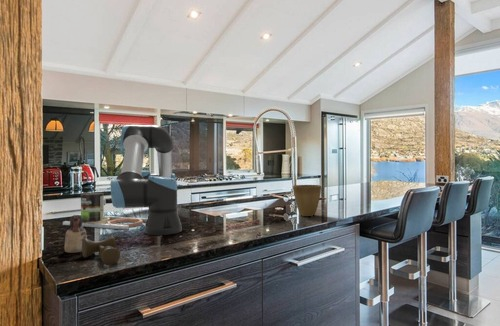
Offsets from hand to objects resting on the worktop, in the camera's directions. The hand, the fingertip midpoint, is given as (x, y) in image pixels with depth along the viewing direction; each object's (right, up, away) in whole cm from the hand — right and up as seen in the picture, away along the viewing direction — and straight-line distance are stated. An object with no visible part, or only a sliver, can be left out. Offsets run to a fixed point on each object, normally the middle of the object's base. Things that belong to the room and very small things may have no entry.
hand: (106, 203), depth 176 cm
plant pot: (+104, -7, +6) cm, 104 cm away
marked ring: (+15, -8, -15) cm, 23 cm away
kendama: (+27, -9, -68) cm, 74 cm away
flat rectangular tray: (+6, -8, -12) cm, 16 cm away
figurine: (+14, -9, -59) cm, 62 cm away
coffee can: (-3, -8, -9) cm, 13 cm away
